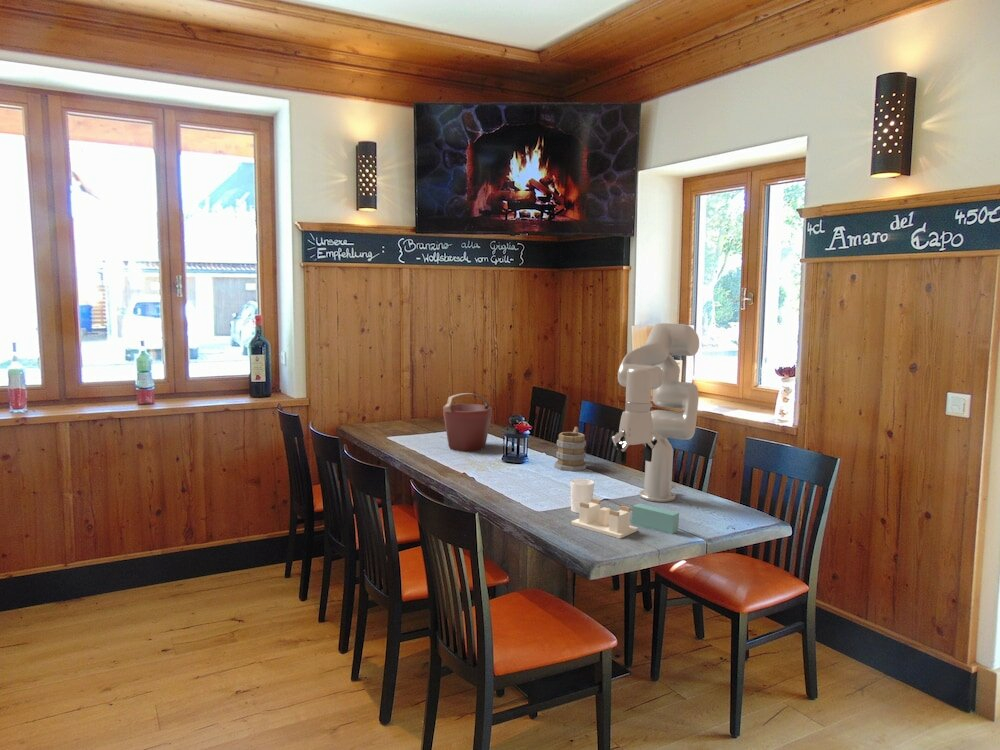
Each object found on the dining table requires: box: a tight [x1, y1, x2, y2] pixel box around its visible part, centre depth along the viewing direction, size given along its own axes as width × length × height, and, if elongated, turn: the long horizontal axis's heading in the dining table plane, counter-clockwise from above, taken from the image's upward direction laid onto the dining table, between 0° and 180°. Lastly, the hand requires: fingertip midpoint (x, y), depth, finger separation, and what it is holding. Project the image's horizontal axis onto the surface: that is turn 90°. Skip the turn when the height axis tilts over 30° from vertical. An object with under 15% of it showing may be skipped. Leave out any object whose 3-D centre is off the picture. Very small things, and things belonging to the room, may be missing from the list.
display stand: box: [570, 497, 639, 539], centre depth 226 cm, size 10×18×7 cm, turn 49°
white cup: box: [569, 478, 595, 514], centre depth 242 cm, size 8×8×10 cm
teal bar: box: [631, 502, 680, 535], centre depth 228 cm, size 4×14×6 cm, turn 51°
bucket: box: [442, 392, 493, 452], centre depth 332 cm, size 24×22×25 cm
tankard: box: [554, 426, 588, 472], centre depth 304 cm, size 20×13×15 cm, turn 162°
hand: (634, 462), depth 225 cm, fingers open, 9 cm apart
